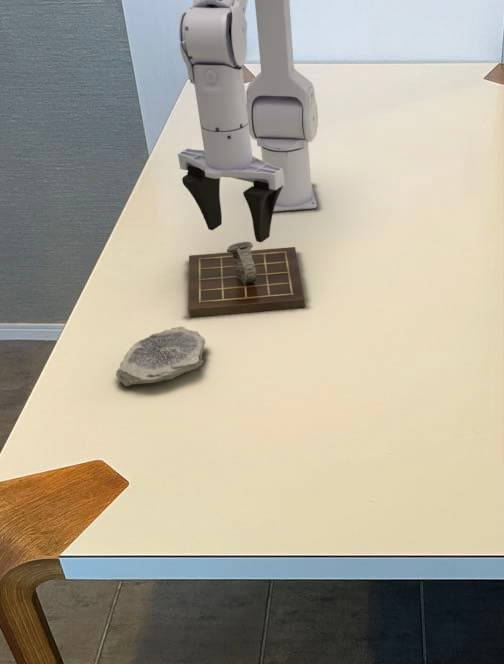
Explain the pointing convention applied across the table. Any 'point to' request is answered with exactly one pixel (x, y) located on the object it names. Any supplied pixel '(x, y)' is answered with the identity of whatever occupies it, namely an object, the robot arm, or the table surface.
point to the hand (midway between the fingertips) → (238, 233)
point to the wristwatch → (243, 261)
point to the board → (236, 297)
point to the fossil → (162, 357)
